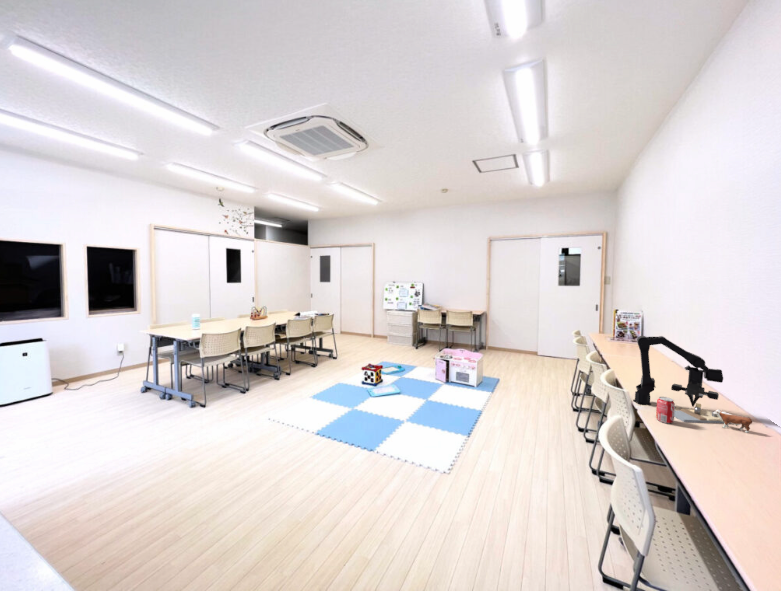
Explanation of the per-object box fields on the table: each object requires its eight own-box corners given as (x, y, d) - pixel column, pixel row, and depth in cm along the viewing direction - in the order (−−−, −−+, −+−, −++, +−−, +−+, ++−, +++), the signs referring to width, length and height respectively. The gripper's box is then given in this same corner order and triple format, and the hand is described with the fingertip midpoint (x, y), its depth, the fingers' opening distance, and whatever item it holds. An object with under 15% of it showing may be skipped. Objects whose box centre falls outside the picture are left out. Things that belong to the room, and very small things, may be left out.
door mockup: (683, 422, 167) (684, 413, 167) (665, 412, 179) (665, 404, 179) (730, 423, 166) (731, 415, 165) (709, 413, 178) (709, 405, 177)
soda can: (670, 420, 169) (672, 397, 168) (675, 425, 163) (677, 402, 162) (653, 417, 172) (655, 395, 171) (658, 422, 166) (659, 399, 165)
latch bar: (700, 414, 170) (700, 409, 170) (694, 413, 172) (694, 407, 172) (701, 408, 179) (701, 402, 179) (695, 407, 181) (695, 401, 180)
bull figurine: (712, 422, 166) (713, 407, 166) (751, 432, 157) (752, 415, 156) (711, 425, 163) (713, 409, 163) (751, 435, 154) (753, 418, 153)
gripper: (670, 377, 180) (668, 404, 181) (718, 386, 166) (715, 416, 167) (674, 373, 188) (671, 399, 189) (719, 382, 174) (717, 410, 175)
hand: (692, 406), depth 180 cm, fingers closed
